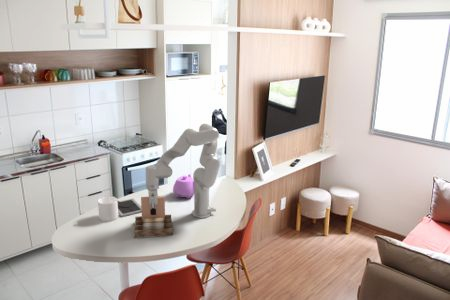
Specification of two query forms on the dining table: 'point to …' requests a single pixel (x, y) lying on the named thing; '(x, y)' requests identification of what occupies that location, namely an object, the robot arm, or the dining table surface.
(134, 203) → the picture frame
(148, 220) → the birch offcut
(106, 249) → the dining table surface
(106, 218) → the cup
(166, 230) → the offcut rack
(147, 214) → the plywood sheet
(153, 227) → the grey offcut
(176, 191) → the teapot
